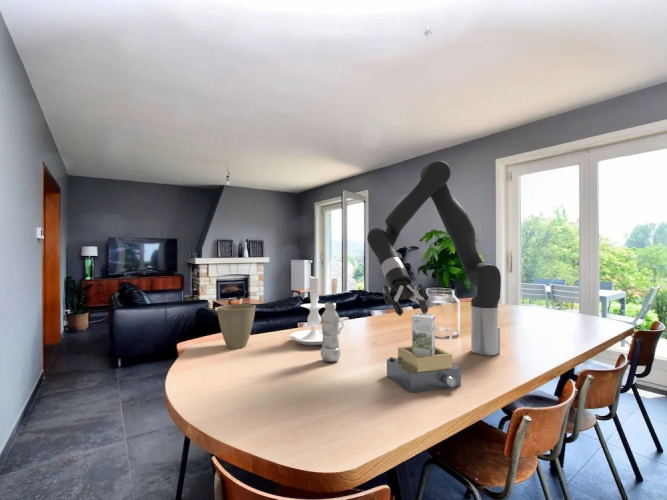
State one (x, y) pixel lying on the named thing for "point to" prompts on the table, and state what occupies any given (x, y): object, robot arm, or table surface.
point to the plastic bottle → (330, 333)
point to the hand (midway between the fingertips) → (413, 313)
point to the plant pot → (236, 324)
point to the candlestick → (312, 318)
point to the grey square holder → (423, 370)
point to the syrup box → (423, 334)
